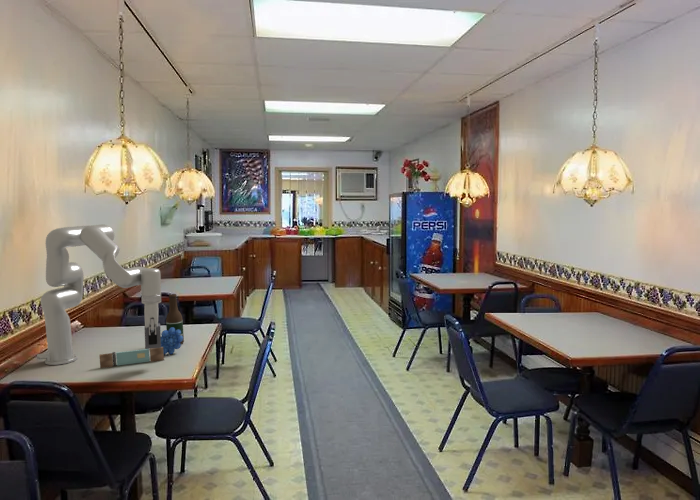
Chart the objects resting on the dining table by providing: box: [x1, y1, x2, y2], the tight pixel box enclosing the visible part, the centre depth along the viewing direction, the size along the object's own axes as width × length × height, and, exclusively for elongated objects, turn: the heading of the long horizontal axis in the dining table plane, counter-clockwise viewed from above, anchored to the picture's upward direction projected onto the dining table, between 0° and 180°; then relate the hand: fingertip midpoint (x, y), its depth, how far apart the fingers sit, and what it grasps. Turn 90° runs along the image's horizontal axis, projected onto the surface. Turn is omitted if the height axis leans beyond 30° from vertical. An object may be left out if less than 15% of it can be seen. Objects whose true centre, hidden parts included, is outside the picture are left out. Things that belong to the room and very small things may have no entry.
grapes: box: [161, 327, 183, 355], centre depth 242 cm, size 12×7×12 cm, turn 116°
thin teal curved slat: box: [115, 348, 151, 367], centre depth 229 cm, size 13×1×5 cm, turn 110°
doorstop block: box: [144, 322, 162, 350], centre depth 222 cm, size 6×5×9 cm
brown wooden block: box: [99, 347, 165, 369], centre depth 229 cm, size 25×1×6 cm, turn 110°
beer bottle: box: [165, 293, 185, 345], centre depth 257 cm, size 8×8×24 cm
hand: (152, 341), depth 223 cm, fingers closed on doorstop block, 5 cm apart
